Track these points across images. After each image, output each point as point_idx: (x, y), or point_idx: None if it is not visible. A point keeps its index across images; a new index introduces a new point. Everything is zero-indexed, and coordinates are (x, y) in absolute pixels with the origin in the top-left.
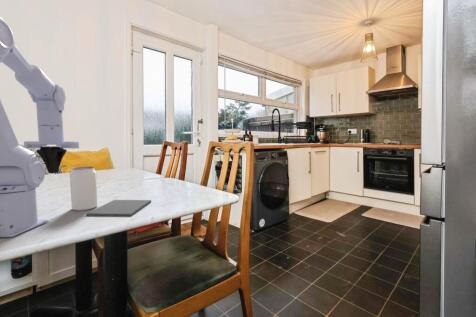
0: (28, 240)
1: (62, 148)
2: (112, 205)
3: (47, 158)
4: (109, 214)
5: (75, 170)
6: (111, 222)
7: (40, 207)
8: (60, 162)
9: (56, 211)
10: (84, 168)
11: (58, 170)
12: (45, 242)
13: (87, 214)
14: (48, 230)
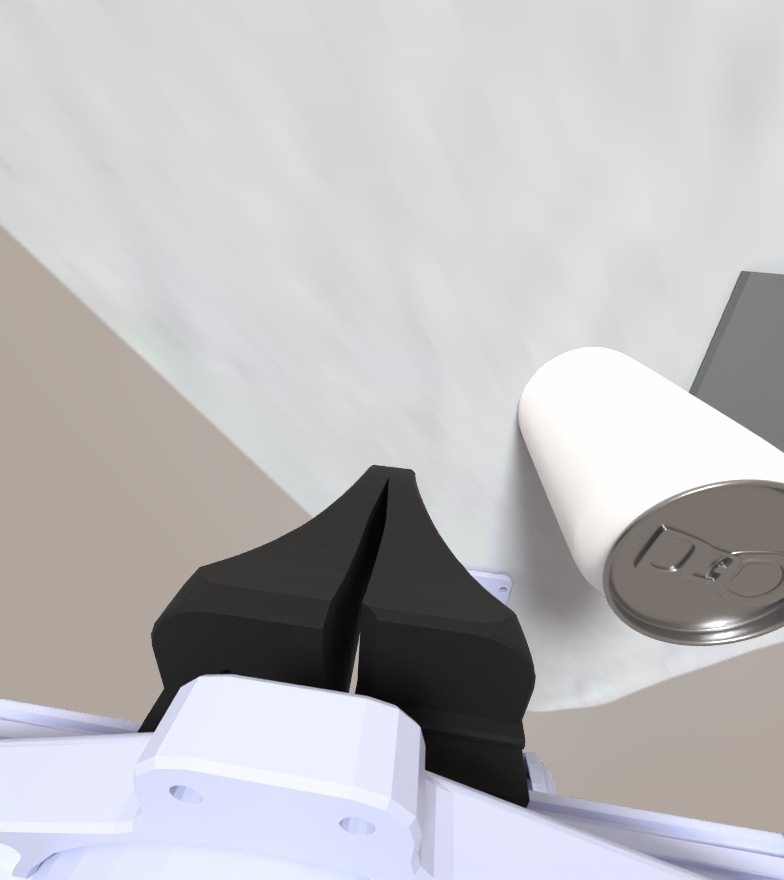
0: (540, 680)
1: (520, 770)
2: (750, 417)
3: (353, 655)
4: None
5: (657, 627)
6: None
7: (330, 378)
8: (431, 524)
9: (460, 453)
10: (730, 571)
11: (414, 479)
12: (592, 695)
13: None
14: (555, 634)
